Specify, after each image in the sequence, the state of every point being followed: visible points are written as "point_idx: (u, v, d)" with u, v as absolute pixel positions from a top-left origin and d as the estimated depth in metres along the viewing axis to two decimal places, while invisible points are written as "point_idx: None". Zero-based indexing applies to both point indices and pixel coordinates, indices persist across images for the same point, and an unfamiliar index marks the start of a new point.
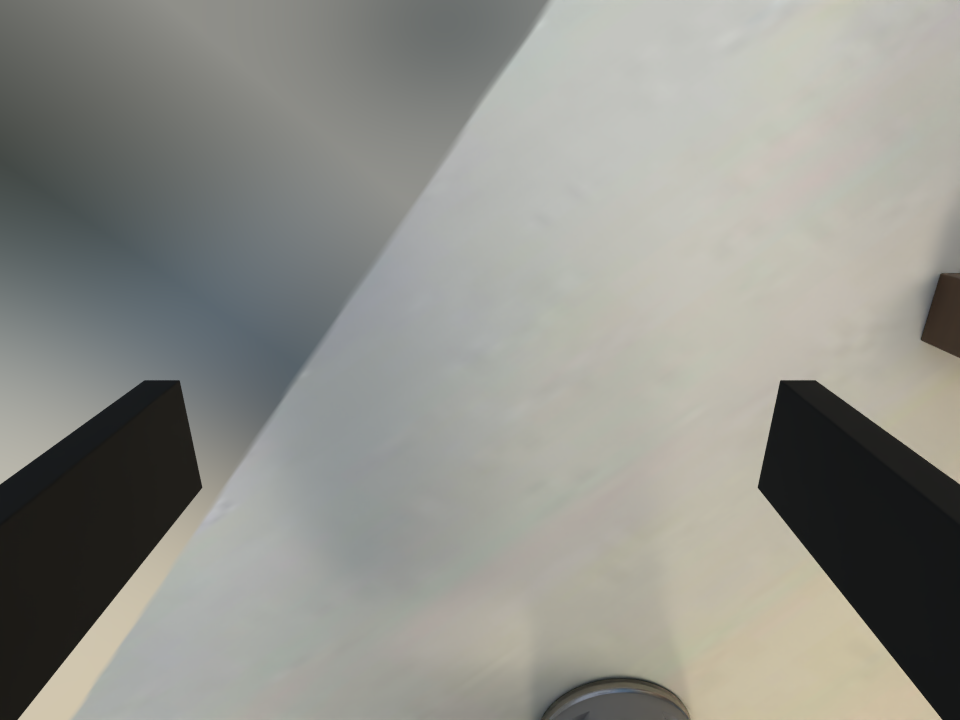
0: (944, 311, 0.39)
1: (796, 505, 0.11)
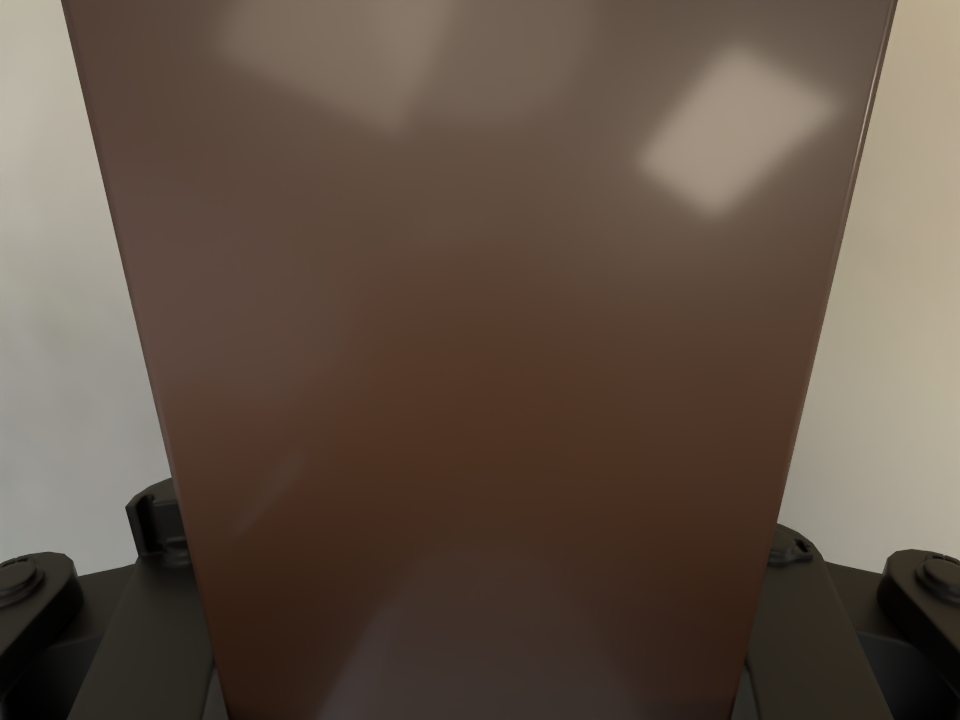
0: None
1: None
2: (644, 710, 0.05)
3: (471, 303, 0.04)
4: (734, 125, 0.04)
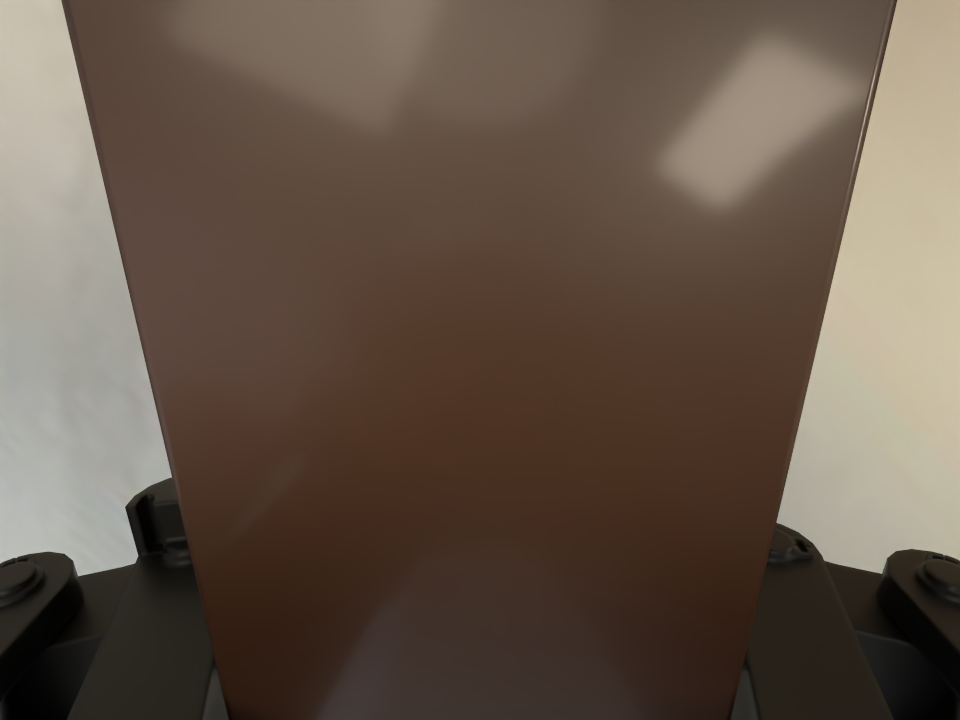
0: None
1: None
2: (644, 707, 0.05)
3: (470, 301, 0.04)
4: (734, 122, 0.04)
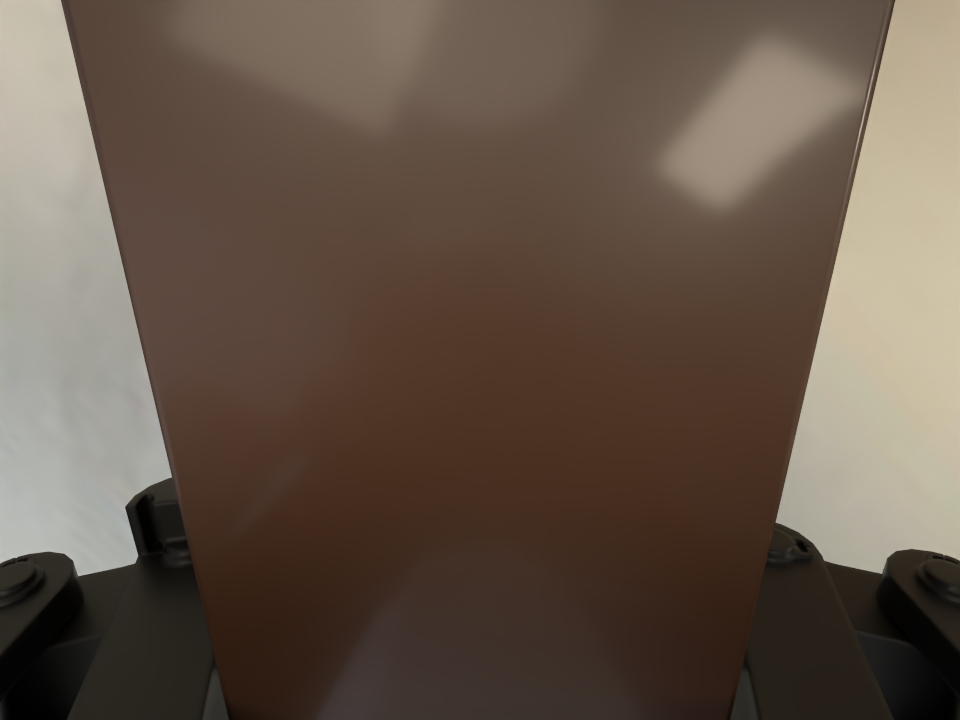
0: None
1: None
2: (644, 707, 0.05)
3: (470, 300, 0.04)
4: (733, 121, 0.04)
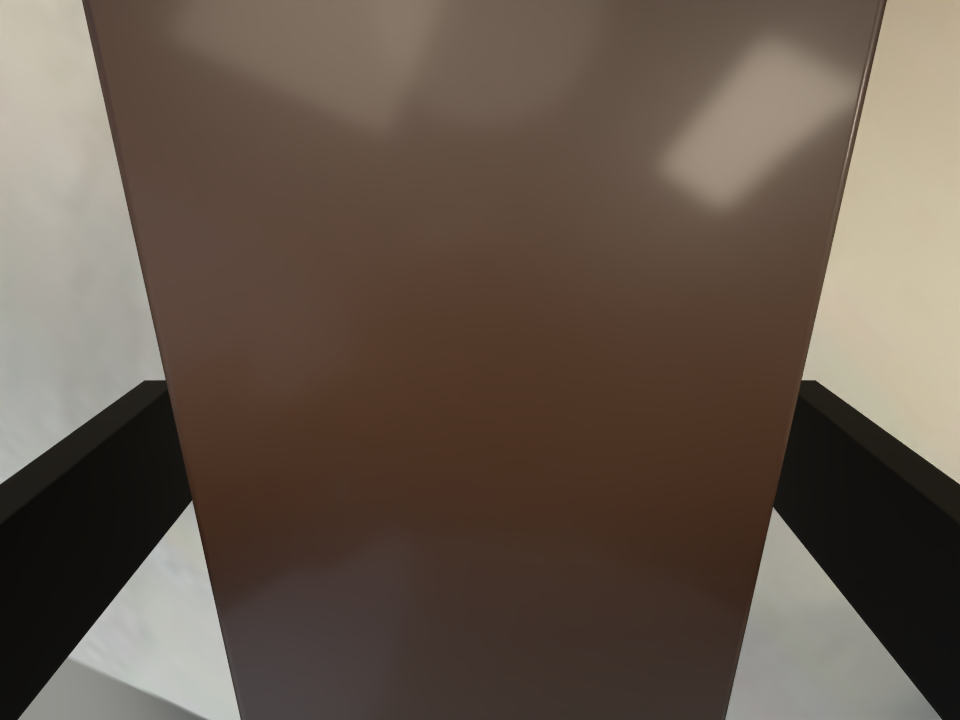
0: None
1: (796, 505, 0.11)
2: (643, 695, 0.06)
3: (475, 296, 0.04)
4: (728, 125, 0.04)
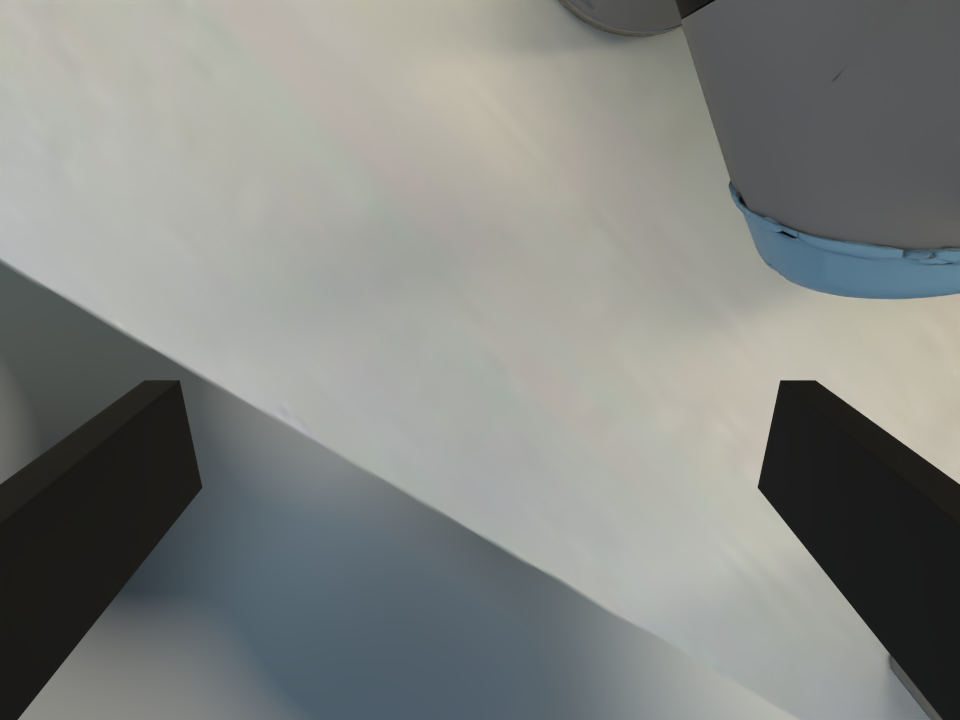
0: None
1: (796, 505, 0.11)
2: None
3: None
4: None
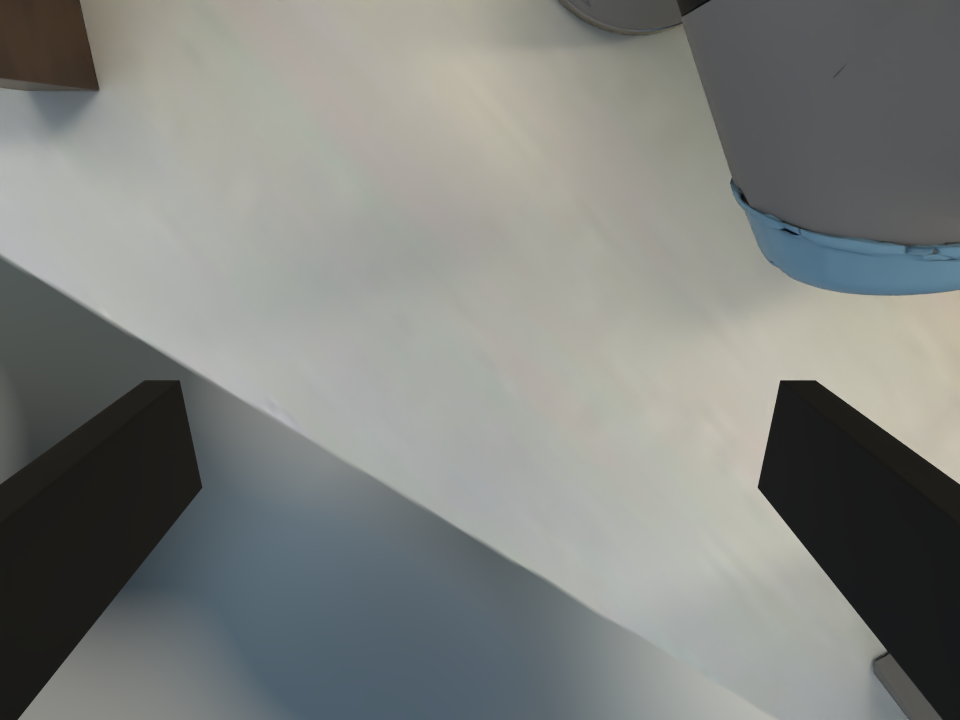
0: (45, 89, 0.37)
1: (796, 505, 0.11)
2: None
3: None
4: None
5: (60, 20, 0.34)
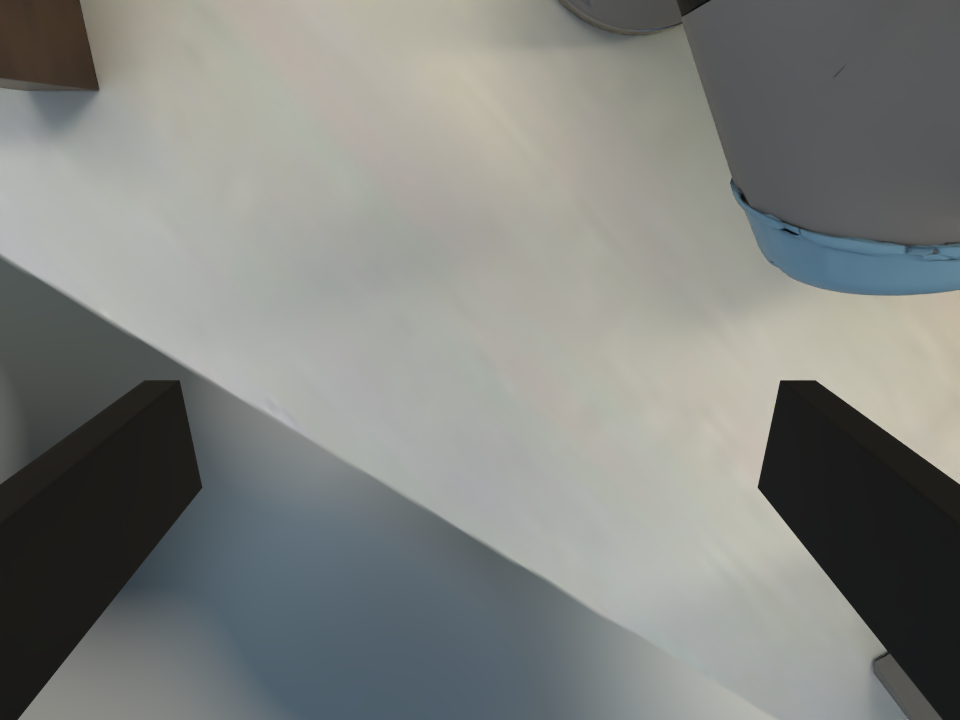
0: (45, 89, 0.37)
1: (796, 505, 0.11)
2: None
3: None
4: None
5: (60, 20, 0.34)
